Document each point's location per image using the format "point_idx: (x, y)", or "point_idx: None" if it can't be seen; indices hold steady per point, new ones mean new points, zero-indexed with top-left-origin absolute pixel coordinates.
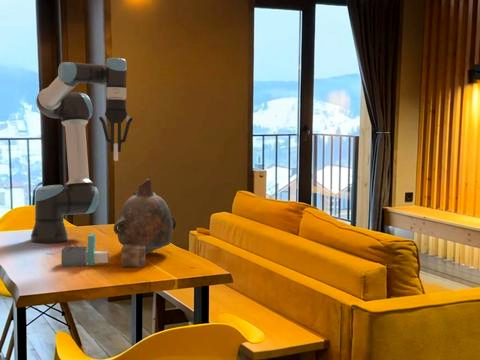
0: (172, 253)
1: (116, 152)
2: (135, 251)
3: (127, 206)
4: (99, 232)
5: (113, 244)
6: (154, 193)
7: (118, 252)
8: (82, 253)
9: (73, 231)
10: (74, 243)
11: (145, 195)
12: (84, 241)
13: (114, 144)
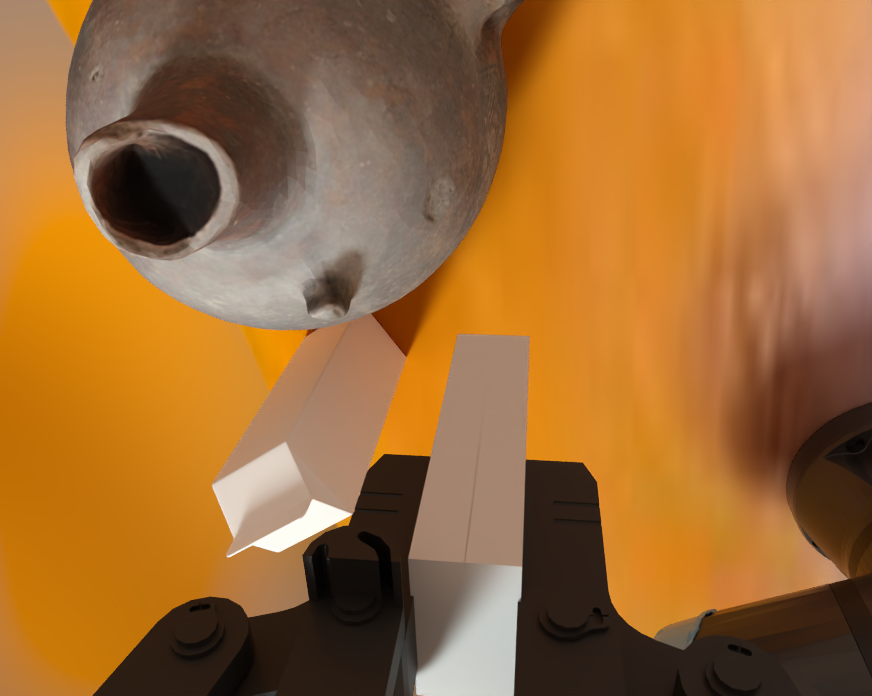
0: None
1: (466, 420)
2: None
3: (397, 29)
4: None
5: (540, 359)
6: (230, 552)
7: (507, 145)
8: None
9: None
10: (754, 393)
11: (193, 67)
12: (696, 439)
13: (503, 550)
